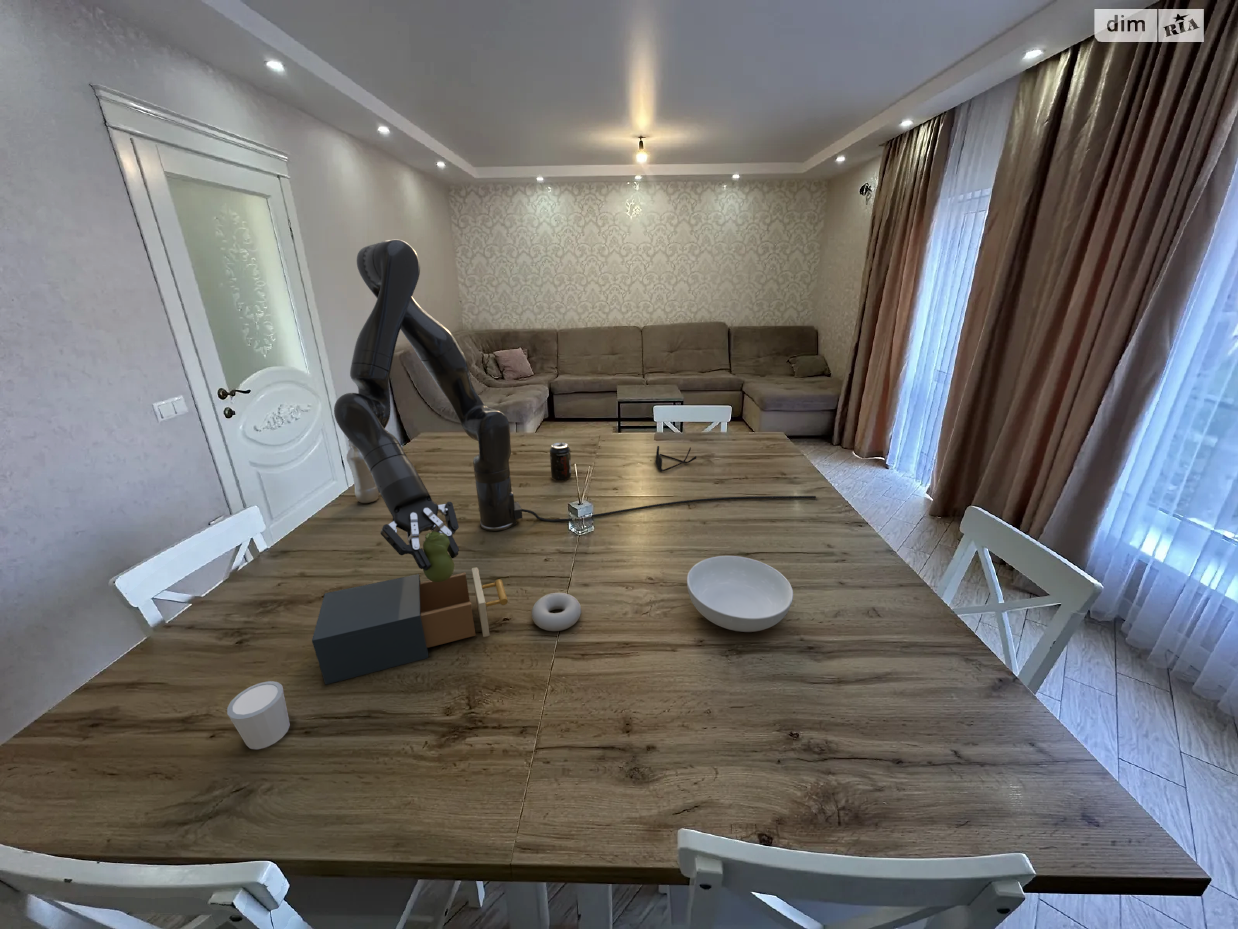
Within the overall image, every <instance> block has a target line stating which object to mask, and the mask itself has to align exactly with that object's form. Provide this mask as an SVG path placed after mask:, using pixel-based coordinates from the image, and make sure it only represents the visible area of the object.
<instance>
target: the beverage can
mask: <svg viewBox="0 0 1238 929" xmlns="http://www.w3.org/2000/svg"><path fill="white" fill-rule="evenodd" d="M571 456H572V454H571V448H570V446H569V443H567V442H555V443H552V444H551V448H550V449H549V462H550V476H551V478H552V480H555V481H557V482H566V481H567V480H569V479H570V478H572V459H571Z"/></svg>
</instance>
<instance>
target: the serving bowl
mask: <svg viewBox="0 0 1238 929" xmlns="http://www.w3.org/2000/svg"><path fill="white" fill-rule="evenodd" d="M686 586H687V587H686V588H687V592H688V597H689V599H690V602H691V603H692V605H693V606H694V608H695V609H696V610H697V611H698V613H699V614H700V615H702V617H704V618H705V619H706V620H707V621H709V622H711V623H712V624H714V625H716V626H719V627H721V628H723V629H727V630H730V631H735V632H744V633H752V632H761V631H764V630H767V629H770V628H771V627H775V625H777V624H778V623H780V622H781V621H782V620H783V619H784V618H785V617H786V616H787V614H788V612H789V610H790V608H791V607H792V604H793V600H794V589H793V587H792V585H791V583H790V581H789V580H788V579H787V578H786V576H784V574H782V572H780V571H778V570H777V569H776V568H775V567H772V566H771V565H769V564H766V563H765V562H762V561H760V560H757V559H753V558H749V557H745V556H738V555H718V556H712V557H708V558H705V559H702V560H701V561H698V562H697V563H695V564H694V565H693V566H692V567H691V568H690V569H689V571H688V573H687V576H686Z"/></svg>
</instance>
